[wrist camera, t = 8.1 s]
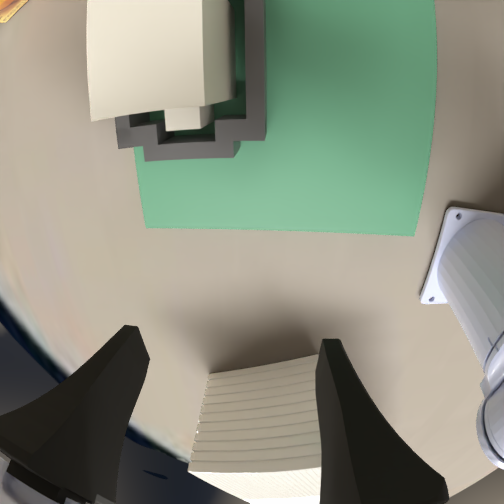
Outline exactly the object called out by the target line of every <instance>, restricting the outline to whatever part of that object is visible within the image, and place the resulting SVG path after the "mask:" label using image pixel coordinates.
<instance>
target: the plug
mask: <svg viewBox="0 0 504 504" xmlns="http://www.w3.org/2000/svg"><path fill="white" fill-rule="evenodd" d="M87 73H88V89H89V102H90V112H91V121H97V120H102V119H107V118H113V117H118V116H124V115H130V114H137V113H143V112H151V111H158V110H164V111H165V124H166V131H175V130H188V129H201V128H203V127H204V126H206V125H208V124H210V123H212V122H214V104H215V103H219V102H223V101H227V100H231V99H235V98H237V96H236V56H235V11H234V9H233V7H232V6H231V4H230V3H229V1H228V0H88V2H87Z"/></svg>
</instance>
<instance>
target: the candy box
mask: <svg viewBox="0 0 504 504" xmlns="http://www.w3.org/2000/svg"><path fill="white" fill-rule="evenodd" d="M27 1H28V0H0V23H3V22H7V21H8V20H9V19H10V18H11V17H12V16H13V15H14V14H15V13H16V12H17V11H18V10H19V9H20V8H21V7H22V6H23V5H24V4H25V3H26V2H27Z"/></svg>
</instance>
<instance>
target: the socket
mask: <svg viewBox="0 0 504 504" xmlns="http://www.w3.org/2000/svg"><path fill="white" fill-rule="evenodd" d="M244 8H245V72H246V115H224V116H222V117H220V118H218V119H216V120H215V134H195V135H179V136H175V134H174V131H166V124H165V119H162V120H153V121H150V115H149V112H143V113H137V114H130V115H124V116H118V117H115V124H116V133H117V142H118V149H121V148H130V147H139V146H143V152H144V160H145V162H149V161H164V160H182V159H209V158H234V157H235V155H236V154H237V152H238V151H239V149H240V141H265V138H266V135H267V66H266V2H265V0H244Z"/></svg>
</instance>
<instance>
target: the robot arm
mask: <svg viewBox="0 0 504 504" xmlns="http://www.w3.org/2000/svg"><path fill="white" fill-rule="evenodd" d="M458 213H459V216H458V217H456V215H457V214H458ZM431 297H432V298H431ZM419 299H420V301H421V303H422V304H440V303H449V305H450V307H451V309H452V310H453V312H454V314H455V316H456V318H457V319H458V321H459V323H460V325H461V327H462V329H463V331H464V332H465V334H466V336H467V338H468V340H469V342H470V344H471V346H472V348H473V350H474V352H475V354H476V356H477V359H478V361H479V363H480V365H481V367H482V369H483V372H484V373H485V376H484V379H483V380H482V382H481V383H480V387H481V389H482V392H483V394H484V397H485V398H484V399H483V401H482V403H481V405H480V407H479V410H478V413H477V419H476V428H477V435H478V440H479V443H480V445H481V448H482V450H483V452H484V453H485V455H486V456H487V458H488V459H489V460H490V461H491V462H492V463H493V464H494V465H496V466H497V467H499V468H501V469H504V214H502V213H496V212H489V211H482V210H475V209H467V208H460V207H450V208H448V209H447V211H446V213H445V217H444V221H443V225H442V229H441V233H440V236H439V240H438V243H437V247H436V250H435V253H434V257H433V260H432V263H431V266H430V269H429V272H428V275H427V278H426V281H425V284H424V287H423V289H422V292H421V295H420V298H419ZM149 361H150V358H149V355H148V352H147V350H146V347H145V345H144V342H143V339H142V337H141V334H140V331H139V328H138V327H137V326H130V325H124V326H123V327H122V328H121V329H120V330H119V331H118V332H117V333H116V334H115V335H114V336H113V337H112V338H111V339H110V340H109V341H108V342H107V343H106V344H105V345H104V346H103V347H102V348H101V349H100V350H98V351H97V352H96V353H95V354H94V355H93V356H92V357H91V358H90V359H89V360H88V361H87V362H86V363H84V364H83V365H82V366H81V367H80V368H79V369H78V370H77V371H75V372H74V373H73V374H72V375H71V376H69V377H68V378H67V379H66V380H64V381H63V382H62V383H60V384H59V385H58V386H56V387H55V388H53V389H52V390H50V391H49V392H48V393H46V394H44V395H42V396H41V397H39V398H38V399H36V400H34V401H32V402H30V403H29V404H27V405H25V406H23V407H21V408H18V409H16V410H14V411H11V412H9V413H6V414H4V415H1V416H0V451H1V452H2V453H3V454H5V455H6V456H7V457H9V458H10V459H11V461H10V463H8V462H6V461H5V460H4V459H2V458H1V457H0V504H85V503H86V502H88V503H90V504H94V503H95V502H98V503H100V504H116V488H117V477H118V468H119V462H120V456H121V451H122V446H123V441H124V437H125V433H126V429H127V426H128V423H129V420H130V417H131V415H132V412H133V409H134V407H135V404H136V402H137V399H138V397H139V394H140V391H141V389H142V386H143V383H144V381H145V377H146V373H147V369H148V365H149ZM315 395H316V403H317V412H318V421H319V429H320V438H321V486H320V501H319V504H444V503H446V502H447V501H448V500H449V494H448V488H447V485H446V482H445V478H444V477H443V476H441V475H440V474H439V473H438V472H436V471H435V470H434V469H433V468H431V467H430V466H429V465H428V464H427V463H425V462H424V461H423V460H422V459H421V458H420V457H419V456H418V455H417V454H416V453H415V452H414V451H413V450H412V449H411V448H410V447H409V446H408V445H407V444H406V443H405V442H404V441H403V440H402V438H401V437H400V436H399V435H398V434H397V433H396V432H395V430H394V429H393V428H392V427H391V426H390V424H389V423H388V422H387V420H386V419H385V418H384V416H383V415H382V414H381V412H380V411H379V409H378V408H377V407H376V405H375V404H374V402H373V400H372V399H371V397H370V396H369V394H368V393H367V391H366V389H365V388H364V386H363V384H362V382H361V381H360V379H359V377H358V375H357V374H356V372H355V370H354V368H353V366H352V364H351V362H350V360H349V358H348V356H347V354H346V352H345V350H344V348H343V345H342V343H341V341H340V340H339V339H322V344H321V348H320V353H319V357H318V362H317V366H316V370H315Z"/></svg>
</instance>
